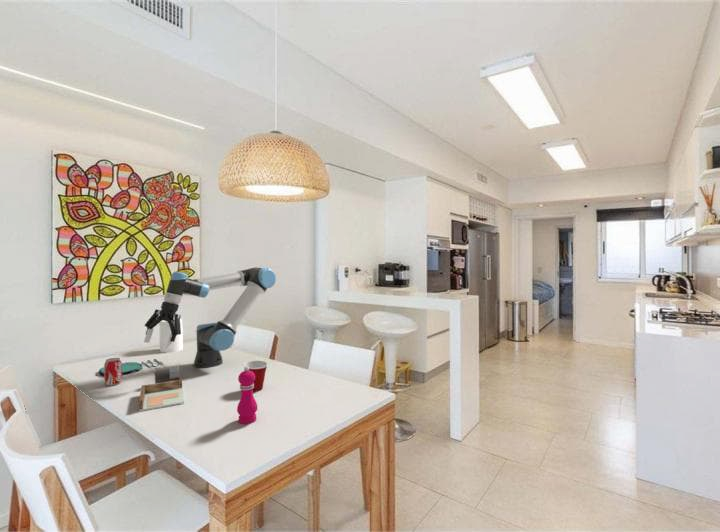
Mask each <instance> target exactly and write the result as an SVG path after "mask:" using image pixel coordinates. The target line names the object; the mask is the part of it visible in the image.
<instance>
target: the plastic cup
mask: <svg viewBox="0 0 720 532" xmlns="http://www.w3.org/2000/svg"><path fill="white" fill-rule="evenodd" d="M268 366H269V362H267V361H265V360H250V361H247V362H245V363H244V364H243V367H244V368H245V367H249V371H252V372H253V373H254V374H255V381H254V382H253V383H254V388H253V392H259V391H262V390H263V388H264V382H265V377H266V371H267V368H268Z"/></svg>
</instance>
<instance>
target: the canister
mask: <svg viewBox="0 0 720 532" xmlns="http://www.w3.org/2000/svg"><path fill="white" fill-rule="evenodd" d="M174 323H175V322H174ZM158 326H159V327H158V328H159V329H158V330H159V352H160V351H161V352H160V353H163V352H169V353H175V352H180V351H182V350H184V340H183V339H184V338H183V337H184V336H183V333H184V331H183V330H184V329H183V318H181V317H180V327H181V334H180V335H176V338H175V341H174V342H173V344H172V347H171V348H166V346H167V342H168V339H169V336H170V334H172V333H171V329H170V326H169V323H168V322H167V321H164V320H163V321H161V322H160V323H158Z"/></svg>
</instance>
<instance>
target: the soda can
mask: <svg viewBox="0 0 720 532" xmlns="http://www.w3.org/2000/svg"><path fill="white" fill-rule="evenodd" d="M122 363H123V362H122V360H121V359H120V357H110V358H106V359H105V363H104V365H103V366H104V374H103V375H104V376H103V377H104V384H105V385H107V386H108V387H109V386H110V387H112V385H113V386H117V385H119V384H121V383H122V381H123V374H122ZM116 384H117V385H116Z"/></svg>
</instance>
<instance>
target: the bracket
mask: <svg viewBox="0 0 720 532" xmlns="http://www.w3.org/2000/svg"><path fill="white" fill-rule="evenodd" d="M175 380H180V368H179V365H178V364H177V365H170V366H164V367H156V368H154V384H155V383H162V382H169V381H175Z"/></svg>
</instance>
